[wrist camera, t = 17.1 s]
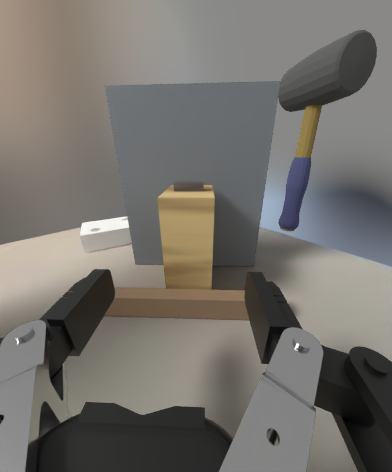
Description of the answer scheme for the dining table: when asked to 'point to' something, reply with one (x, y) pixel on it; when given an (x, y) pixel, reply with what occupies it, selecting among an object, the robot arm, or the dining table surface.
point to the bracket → (105, 234)
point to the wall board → (192, 179)
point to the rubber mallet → (320, 102)
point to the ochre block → (187, 234)
